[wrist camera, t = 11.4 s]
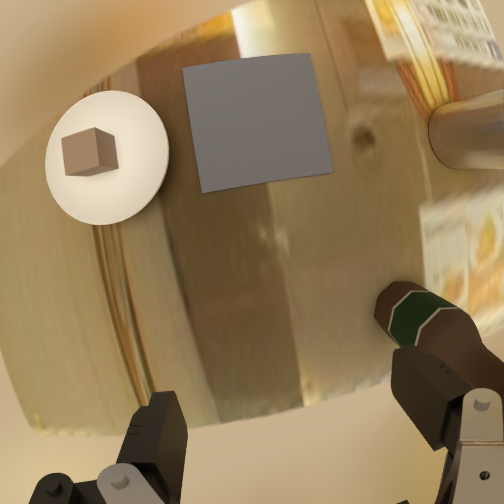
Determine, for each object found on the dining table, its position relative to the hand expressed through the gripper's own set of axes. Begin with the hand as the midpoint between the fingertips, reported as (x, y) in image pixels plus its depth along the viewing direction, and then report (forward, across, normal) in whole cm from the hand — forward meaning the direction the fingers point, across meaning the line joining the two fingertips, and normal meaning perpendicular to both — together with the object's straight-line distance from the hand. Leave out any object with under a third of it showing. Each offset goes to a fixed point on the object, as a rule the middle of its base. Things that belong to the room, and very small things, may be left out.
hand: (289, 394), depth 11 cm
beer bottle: (+28, -19, +11) cm, 35 cm away
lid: (+21, +12, -12) cm, 27 cm away
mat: (+27, -4, -15) cm, 31 cm away
